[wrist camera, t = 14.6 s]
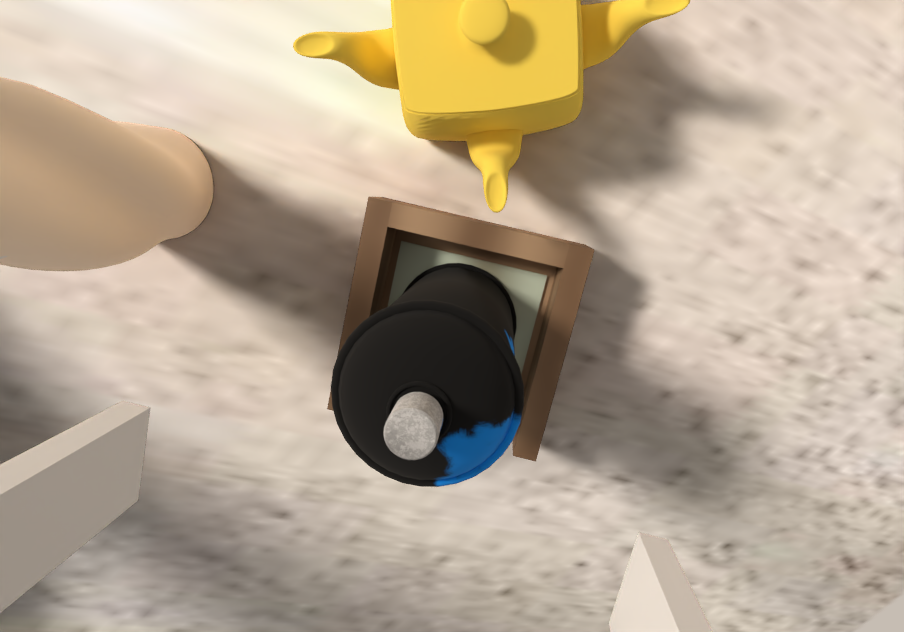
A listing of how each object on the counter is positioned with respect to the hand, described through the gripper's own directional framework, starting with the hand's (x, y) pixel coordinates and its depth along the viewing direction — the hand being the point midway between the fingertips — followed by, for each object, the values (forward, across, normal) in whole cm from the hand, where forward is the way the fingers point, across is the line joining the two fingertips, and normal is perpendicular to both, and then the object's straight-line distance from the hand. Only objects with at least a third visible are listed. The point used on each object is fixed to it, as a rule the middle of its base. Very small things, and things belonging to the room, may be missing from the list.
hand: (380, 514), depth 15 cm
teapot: (+27, -2, +17) cm, 32 cm away
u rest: (+27, 0, 0) cm, 27 cm away
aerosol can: (+26, 0, 0) cm, 26 cm away
